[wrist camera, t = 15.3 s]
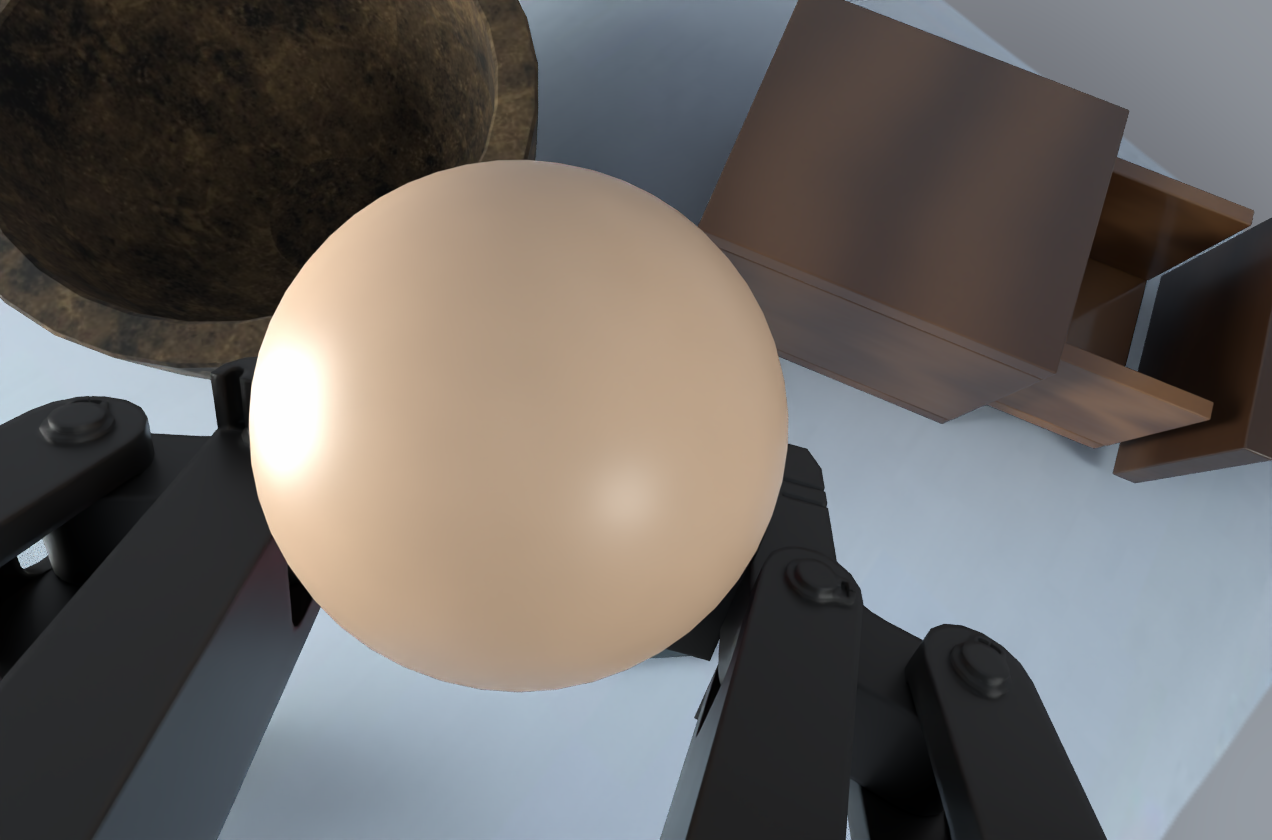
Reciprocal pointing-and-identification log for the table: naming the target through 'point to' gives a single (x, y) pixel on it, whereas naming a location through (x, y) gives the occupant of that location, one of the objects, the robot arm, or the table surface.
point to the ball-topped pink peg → (518, 425)
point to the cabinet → (913, 209)
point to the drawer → (1166, 335)
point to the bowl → (227, 151)
